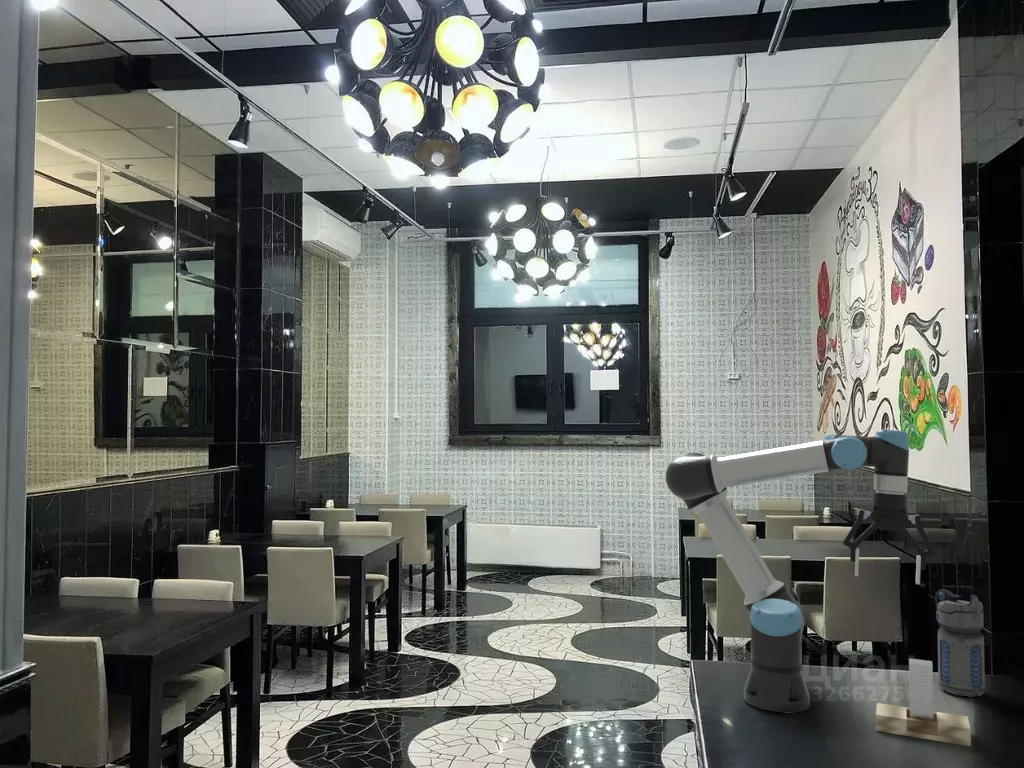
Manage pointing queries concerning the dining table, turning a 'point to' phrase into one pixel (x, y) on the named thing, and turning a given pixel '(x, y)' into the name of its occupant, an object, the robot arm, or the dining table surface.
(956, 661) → the beverage bottle
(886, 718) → the foot beam
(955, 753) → the dining table surface
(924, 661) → the white square post
